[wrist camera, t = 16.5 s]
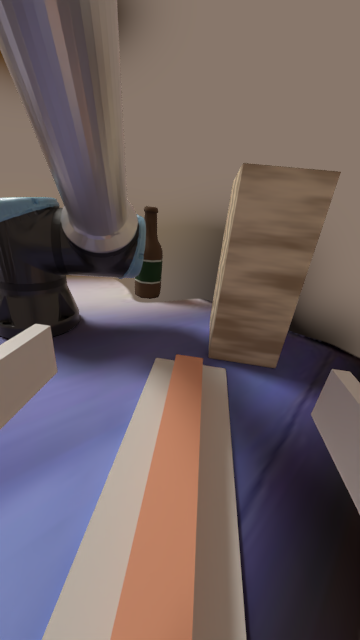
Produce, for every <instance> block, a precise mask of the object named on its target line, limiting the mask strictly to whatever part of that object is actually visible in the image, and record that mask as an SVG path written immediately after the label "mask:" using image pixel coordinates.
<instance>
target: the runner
mask: <svg viewBox="0 0 360 640" xmlns="http://www.w3.org/2000/svg"><path fill="white" fill-rule="evenodd" d="M174 362H175V361H174V360H168V359H161V358H156V360H155V362H154V364H153V367H152V369H151V372H150V374H149V377H148V379H147V382H146V384H145V387H144V389H143V392H142V394H141V396H140V399H139V401H138V404H137V406H136V409H135V411H134V414H133V416H132V419H131V421H130V424H129V426H128V429H127V431H126V433H125V436H124V438H123V441H122V443H121V446H120V448H119V451H118V453H117V456H116V458H115V461H114V463H113V466H112V468H111V470H110V473H109V475H108V478H107V480H106V483H105V485H104V488H103V490H102V493H101V495H100V498H99V500H98V503H97V505H96V507H95V510H94V512H93V515H92V517H91V520H90V522H89V525H88V527H87V530H86V532H85V535H84V537H83V540H82V542H81V544H80V547H79V549H78V552H77V554H76V557H75V559H74V562H73V564H72V567H71V569H70V572H69V574H68V576H67V579H66V581H65V584H64V586H63V589H62V591H61V594H60V596H59V599H58V601H57V604H56V606H55V609H54V611H53V613H52V616H51V618H50V621H49V623H48V626H47V628H46V631H45V633H44V636H43V638H42V640H110V638H111V634H112V630H113V625H114V621H115V617H116V613H117V608H118V604H119V600H120V595H121V591H122V587H123V582H124V578H125V574H126V569H127V565H128V561H129V556H130V552H131V548H132V543H133V539H134V535H135V530H136V526H137V522H138V517H139V513H140V509H141V504H142V500H143V496H144V491H145V487H146V483H147V478H148V474H149V470H150V465H151V461H152V457H153V452H154V448H155V444H156V439H157V435H158V431H159V427H160V422H161V418H162V414H163V409H164V405H165V401H166V396H167V392H168V388H169V383H170V379H171V375H172V370H173V366H174ZM192 640H246V628H245V615H244V601H243V588H242V575H241V562H240V549H239V536H238V523H237V510H236V497H235V484H234V471H233V458H232V445H231V431H230V418H229V405H228V392H227V379H226V369H224V368H218V367H211V366H205V365H203V370H202V396H201V422H200V448H199V474H198V500H197V526H196V552H195V578H194V604H193V630H192Z"/></svg>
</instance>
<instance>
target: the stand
mask: <svg viewBox="0 0 360 640" xmlns="http://www.w3.org/2000/svg"><path fill="white" fill-rule="evenodd" d="M340 173H341V172H337V171H326V170H315V169H303V168H292V167H281V166H270V165H259V164H248V163H247V164H246V163H243V165H242V167H241V168H240V170H239V172H238V174H237V175H236V177H235V179H234V181H233V185H232V191H231V197H230V203H229V209H228V215H227V221H226V226H225V232H224V238H223V244H222V250H221V257H220V262H219V268H218V275H217V280H216V286H215V292H214V298H213V304H212V310H211V316H210V334H209V358H213V359H219V360H226V361H232V362H238V363H245V364H251V365H257V366H264V367H270V368H276V365H277V362H278V359H279V356H280V353H281V350H282V347H283V344H284V341H285V338H286V335H287V332H288V329H289V326H290V323H291V320H292V317H293V314H294V311H295V308H296V305H297V302H298V299H299V296H300V293H301V290H302V287H303V284H304V281H305V278H306V275H307V272H308V269H309V266H310V263H311V260H312V257H313V254H314V251H315V248H316V245H317V242H318V239H319V236H320V233H321V230H322V227H323V224H324V221H325V218H326V215H327V212H328V209H329V206H330V203H331V200H332V197H333V194H334V191H335V188H336V185H337V182H338V178H339V176H340Z"/></svg>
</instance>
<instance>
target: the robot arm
mask: <svg viewBox="0 0 360 640" xmlns="http://www.w3.org/2000/svg"><path fill="white" fill-rule="evenodd" d="M0 50H1V52H2V55H3V57H4V60H5V62H6V65H7V67H8V69H9V72H10V74H11V77H12V79H13V81H14V84H15V86H16V89H17V91H18V94H19V96H20V99H21V101H22V104H23V106H24V108H25V111H26V113H27V116H28V118H29V121H30V123H31V125H32V128H33V130H34V133H35V135H36V138H37V140H38V142H39V145H40V147H41V150H42V152H43V155H44V157H45V159H46V162H47V164H48V167H49V169H50V172H51V174H52V176H53V179H54V181H55V184H56V186H57V189H58V191H59V193H60V196H61V198H62V200H63V203H64V207H63V208H59V203H58V202H57V200H56V199H55V198H46V197H23V198H22V197H16V198H0V336H2V337H5V338H9V340H8V341H6V342H5V343H3V344H1V345H0V429H1V428H2V427H3V426H4V425H5V424H6V423H7V422H8V421H9V420H10V419H11V418H12V417H13V416H14V415H15V414H16V413H17V412H18V411H19V410H20V409H21V408H22V407H23V406H24V405H25V404H26V403H27V402H28V401H29V400H30V399H31V398H32V397H33V396H34V395H35V394H36V393H37V392H38V391H39V390H40V389H41V388H42V387H43V386H44V385H45V384H46V383H47V382H48V381H49V380H50V379H51V378H52V377H53V376H54V375H55V374H56V373H57V365H56V359H55V353H54V346H53V340H52V337H53V336H56V335H59V334H62V333H65V332H67V331H69V330H71V329H72V328H74V327H75V326H76V325H77V324H78V323H79V320H80V317H79V309H78V307H77V305H76V303H75V301H74V298H73V296H72V294H71V292H70V290H69V288H68V286H67V281H66V275H80V276H98V277H116V278H119V279H122V278H134V277H136V276H138V275H139V273H140V271H141V269H142V264H143V259H144V256H143V255H144V251H145V242H146V223H145V219H144V218H143V217H141V216H138V215H137V214H136V211H135V210H134V207H133V206H132V205H131V204H130V202H129V201H128V200H127V187H126V168H125V150H124V132H123V131H124V129H123V110H122V91H121V73H120V52H119V33H118V15H117V0H0ZM311 416H312V418H313V420H314V422H315V424H316V426H317V428H318V430H319V432H320V434H321V436H322V438H323V440H324V443H325V445H326V447H327V449H328V451H329V453H330V455H331V457H332V459H333V461H334V463H335V465H336V467H337V469H338V471H339V473H340V475H341V477H342V479H343V481H344V483H345V485H346V487H347V489H348V491H349V494H350V496H351V498H352V500H353V502H354V504H355V506H356V508H357V510H358V512H359V514H360V383H359V381H358V380H357V379H356V378H355V377H354V376H353V375H352V373H351V372H349V371H342V370H335V369H332V370H331V372H330V374H329V376H328V378H327V381H326V383H325V385H324V387H323V389H322V391H321V394H320V396H319V398H318V400H317V402H316V405H315V407H314V409H313V411H312V413H311Z"/></svg>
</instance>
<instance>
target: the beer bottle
mask: <svg viewBox="0 0 360 640" xmlns="http://www.w3.org/2000/svg"><path fill="white" fill-rule="evenodd" d="M144 211H145V223H146V242H145V251H144V255H143V256H144V259H143V264H142V269H141V271H140V273H139V275H138V276H136V277H135V294H136V295H137V296H139V297H141V298H149V299H151V298H156V297H158V296H159V294H160V288H161V272H162V248H161V245H160V243H159V242H158V239H157V213H158V209H157V208H156V207H148V206H146V207H145V208H144Z"/></svg>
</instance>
